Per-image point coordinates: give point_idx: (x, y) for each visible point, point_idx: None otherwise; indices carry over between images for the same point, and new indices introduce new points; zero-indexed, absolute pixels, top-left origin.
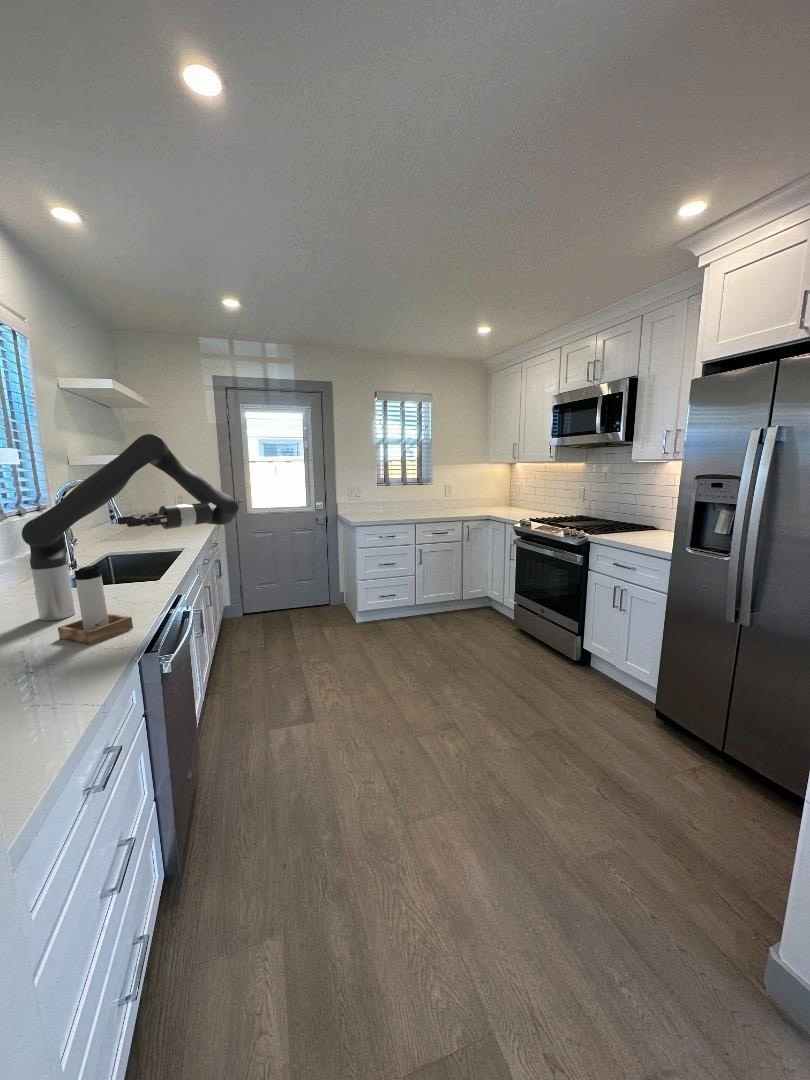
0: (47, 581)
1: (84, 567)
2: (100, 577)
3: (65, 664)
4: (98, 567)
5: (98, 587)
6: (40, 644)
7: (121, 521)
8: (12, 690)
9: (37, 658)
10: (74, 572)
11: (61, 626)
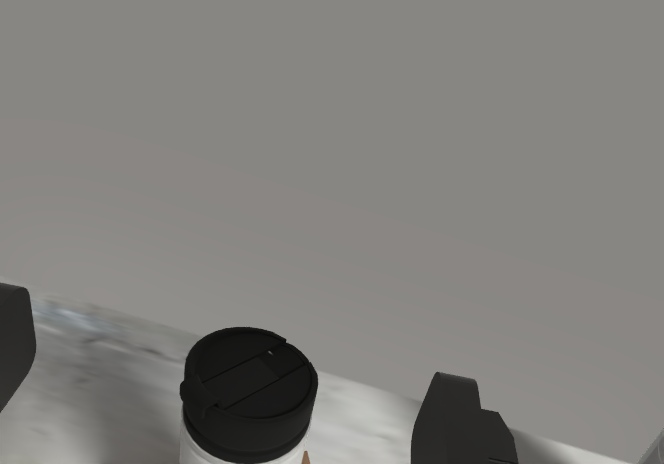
0: (648, 453)
1: (311, 385)
2: (192, 447)
3: (40, 392)
4: (182, 393)
5: (180, 458)
6: None
7: (425, 443)
8: (31, 290)
9: (181, 381)
10: (270, 337)
11: (306, 461)
